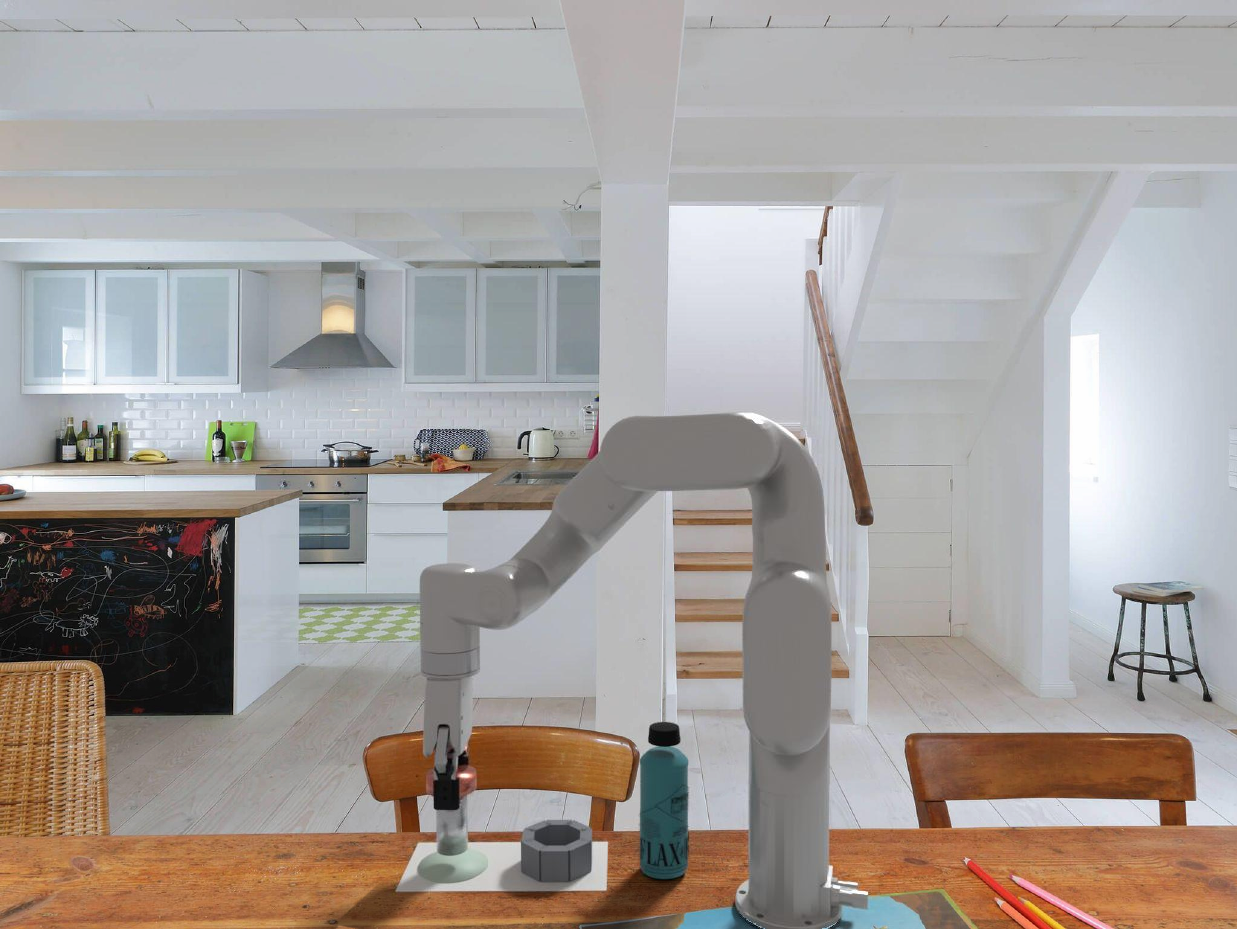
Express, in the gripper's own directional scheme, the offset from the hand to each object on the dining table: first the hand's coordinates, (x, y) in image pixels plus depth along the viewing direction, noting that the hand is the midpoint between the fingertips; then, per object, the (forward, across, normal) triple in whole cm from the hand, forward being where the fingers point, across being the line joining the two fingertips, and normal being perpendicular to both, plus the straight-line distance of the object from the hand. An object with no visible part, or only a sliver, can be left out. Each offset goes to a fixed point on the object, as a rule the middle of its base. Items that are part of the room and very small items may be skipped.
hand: (451, 796), depth 119 cm
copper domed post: (+7, 0, 0) cm, 7 cm away
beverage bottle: (+10, +2, +27) cm, 29 cm away
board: (+10, 0, +7) cm, 12 cm away
